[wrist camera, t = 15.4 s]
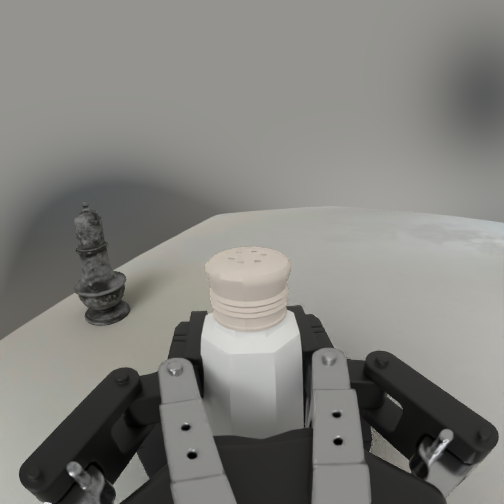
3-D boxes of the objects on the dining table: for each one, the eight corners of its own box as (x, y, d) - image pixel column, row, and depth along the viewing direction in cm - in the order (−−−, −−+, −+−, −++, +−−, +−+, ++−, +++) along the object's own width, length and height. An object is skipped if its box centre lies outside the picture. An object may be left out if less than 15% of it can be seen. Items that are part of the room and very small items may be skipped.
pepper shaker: (228, 403, 16) (213, 230, 13) (314, 423, 15) (339, 240, 11) (187, 468, 12) (128, 277, 8) (288, 499, 10) (318, 309, 6)
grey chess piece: (111, 295, 32) (93, 195, 28) (143, 307, 29) (125, 195, 25) (73, 316, 27) (48, 207, 23) (102, 333, 24) (74, 208, 20)
